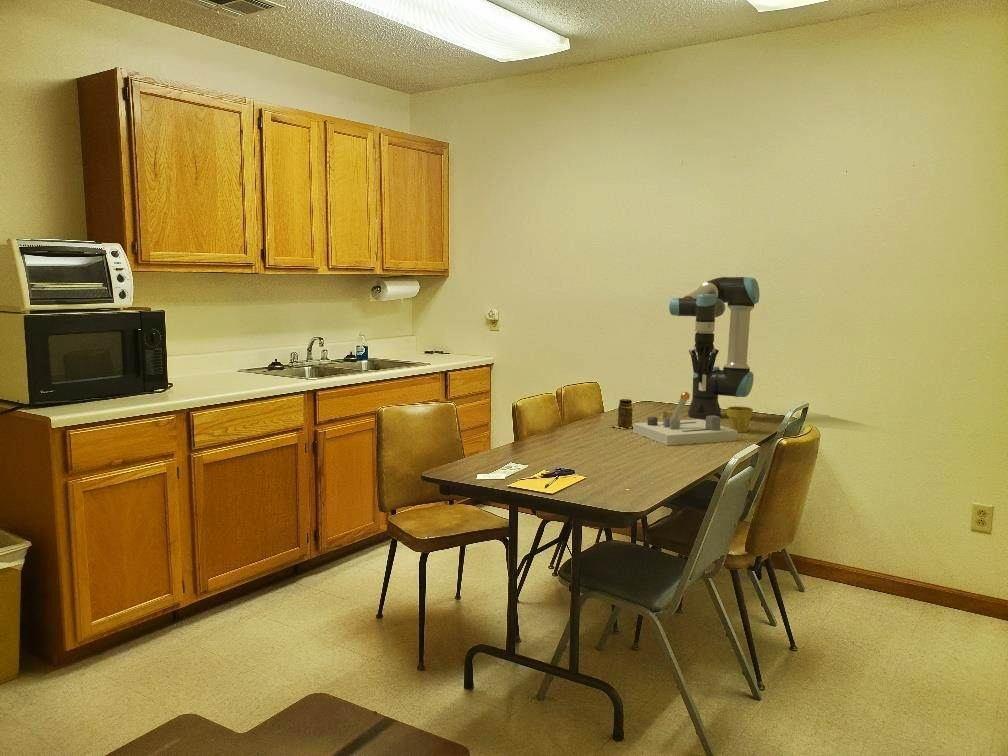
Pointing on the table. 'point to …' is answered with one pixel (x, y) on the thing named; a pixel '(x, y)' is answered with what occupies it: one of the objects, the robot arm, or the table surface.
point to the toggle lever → (680, 406)
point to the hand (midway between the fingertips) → (702, 390)
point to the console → (682, 431)
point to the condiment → (625, 413)
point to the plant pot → (739, 417)
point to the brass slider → (667, 414)
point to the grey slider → (713, 422)
